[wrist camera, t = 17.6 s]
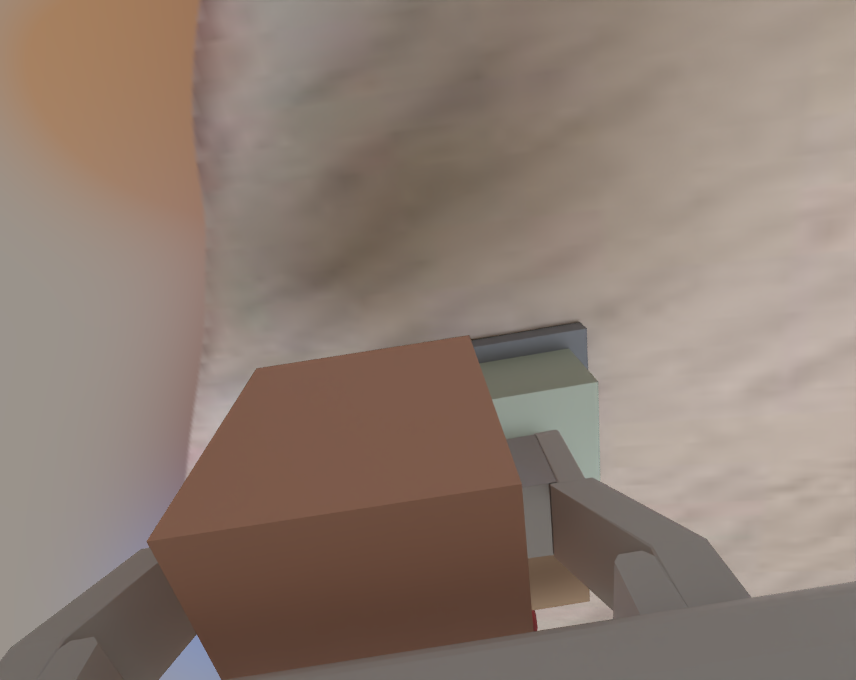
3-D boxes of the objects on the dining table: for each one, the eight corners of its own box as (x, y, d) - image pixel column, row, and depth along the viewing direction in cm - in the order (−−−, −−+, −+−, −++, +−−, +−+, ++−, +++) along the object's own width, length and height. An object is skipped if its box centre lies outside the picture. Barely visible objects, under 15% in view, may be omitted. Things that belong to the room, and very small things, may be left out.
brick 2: (446, 452, 22) (457, 530, 18) (548, 436, 22) (586, 509, 17) (460, 530, 24) (473, 619, 19) (553, 515, 24) (589, 601, 19)
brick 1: (256, 368, 11) (146, 540, 6) (469, 335, 11) (521, 484, 6) (310, 527, 13) (258, 747, 8) (488, 499, 13) (539, 705, 8)
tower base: (368, 357, 26) (360, 402, 21) (579, 322, 25) (619, 358, 21) (405, 521, 30) (406, 588, 25) (586, 491, 30) (619, 553, 25)
